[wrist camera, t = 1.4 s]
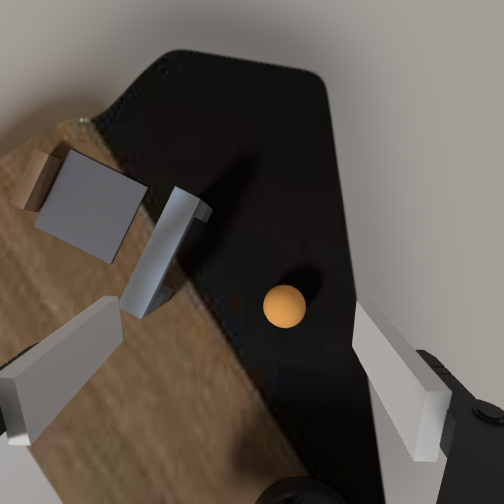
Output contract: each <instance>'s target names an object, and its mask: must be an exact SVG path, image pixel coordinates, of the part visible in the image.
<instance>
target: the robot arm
mask: <svg viewBox="0 0 504 504" xmlns="http://www.w3.org/2000/svg"><path fill="white" fill-rule="evenodd" d="M122 341H123V335H122V327H121V319H120V312H119V304H118V296H103V297H102V298H100V299H99V300H98V301H96V302H95V303H94V304H92V305H91V306H89V307H88V308H87V309H85V310H84V311H83V312H81V313H80V314H78V315H77V316H76V317H74V318H73V319H71V320H70V321H69V322H67V323H66V324H65V325H63V326H62V327H60V328H59V329H58V330H56V331H55V332H54V333H52V334H51V335H49V336H48V337H47V338H45V339H44V340H42V341H40V342H38V343H36V344H34V345H32V346H30V347H28V348H26V349H25V350H23V351H22V352H21V353H19V354H18V355H17V357H14V358H12V359H11V360H9V361H8V363H5V364H4V365H2V366H1V367H0V436H1V435H2V434H3V433H4V432H5V431H6V433H7V437H8V441H9V444H10V445H30V446H31V444H32V443H33V442H34V441H35V440H36V439H37V438H38V437H39V435H40V434H41V433H42V432H43V431H44V430H45V429H46V427H47V426H48V425H49V424H50V423H51V422H52V421H53V419H54V418H55V417H56V416H57V415H58V414H59V413H60V411H61V410H62V409H63V408H64V407H65V406H66V405H67V404H68V402H69V401H70V400H71V399H72V398H73V397H74V396H75V394H76V393H77V392H78V391H79V390H80V389H81V388H82V386H83V385H84V384H85V383H86V382H87V381H88V380H89V379H90V377H91V376H92V375H93V374H94V373H95V372H96V371H97V369H98V368H99V367H100V366H101V365H102V364H103V363H104V361H105V360H106V359H107V358H108V357H109V356H110V355H111V353H112V352H113V351H114V350H115V349H116V348H117V347H118V346H119V344H120V343H121V342H122ZM352 347H353V349H354V350H355V352H356V354H357V356H358V358H359V360H360V362H361V364H362V366H363V367H364V369H365V371H366V373H367V375H368V377H369V379H370V381H371V382H372V384H373V386H374V388H375V390H376V392H377V394H378V396H379V398H380V399H381V401H382V403H383V405H384V407H385V409H386V411H387V413H388V415H389V416H390V418H391V420H392V422H393V424H394V426H395V428H396V430H397V432H398V433H399V435H400V437H401V439H402V441H403V443H404V445H405V446H406V448H407V450H408V452H409V454H410V456H411V458H412V460H413V461H416V462H437V460H438V455H439V451H440V448H441V449H442V451H443V452H444V454H445V455H446V457H447V462H446V466H445V470H444V474H443V478H442V482H441V486H440V490H439V494H438V499H437V502H436V504H504V411H503V410H502V409H500V408H499V407H497V406H495V405H493V404H491V403H488V402H485V401H482V400H478V399H476V398H475V397H474V396H473V395H472V394H471V393H470V392H469V391H468V390H467V389H466V388H465V387H464V386H463V385H462V384H461V383H460V382H459V381H458V380H457V379H456V378H455V377H454V376H453V375H452V374H451V373H450V372H449V371H448V370H447V368H445V367H444V365H443V364H442V363H441V362H440V361H439V360H438V359H437V358H436V357H434V356H433V355H431V354H429V353H428V352H426V351H425V350H414V349H413V347H412V346H411V345H410V344H409V343H408V342H407V341H406V339H405V338H404V337H403V336H402V335H401V334H400V333H399V332H398V330H397V329H396V328H395V327H394V326H393V325H392V324H391V323H390V321H389V320H388V319H387V318H386V317H385V316H384V315H383V314H382V312H380V310H379V309H378V308H377V307H376V306H375V305H374V303H373V302H372V301H357V304H356V314H355V323H354V333H353V343H352ZM255 504H347V503H346V501H345V500H344V498H343V497H342V496H341V495H340V494H339V493H338V492H337V491H336V490H335V489H334V488H332V487H331V486H329V485H328V484H326V483H324V482H322V481H319V480H316V479H311V478H291V479H287V480H283V481H281V482H278V483H276V484H275V485H273V486H271V487H270V488H269V489H267V490H266V491H265V492H264V493H263V494H262V495H261V496H260V497H259V499H258V500H257V502H256V503H255Z"/></svg>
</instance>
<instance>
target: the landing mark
mask: <svg viewBox="0 0 504 504" xmlns="http://www.w3.org/2000/svg"><path fill="white" fill-rule="evenodd" d="M147 189H148V187H146V186H144V185H142V184H140V183H138V182H136V181H134V180H132V179H130V178H128V177H126V176H124V175H122V174H120V173H118V172H116V171H114V170H112V169H110V168H108V167H106V166H104V165H102V164H100V163H98V162H96V161H94V160H92V159H90V158H88V157H85V156H83V155H81V154H79V153H77V152H75V151H73V150H71V149H70V151H69V153H68V155H67V157H66V159H65V161H64V163H63V166H62V168H61V170H60V172H59V174H58V176H57V178H56V180H55V182H54V185H53V187H52V189H51V191H50V193H49V195H48V197H47V199H46V201H45V204H44V206H43V208H42V210H41V212H40V214H39V216H38V218H37V220H36V222H35V225H34V227H36V228H38V229H40V230H42V231H44V232H46V233H48V234H50V235H52V236H54V237H56V238H58V239H60V240H62V241H64V242H66V243H68V244H70V245H72V246H74V247H76V248H78V249H80V250H83V251H85V252H87V253H89V254H91V255H93V256H95V257H97V258H99V259H101V260H103V261H105V262H107V263H109V264H112V262H113V259H114V257H115V255H116V253H117V251H118V249H119V247H120V245H121V243H122V241H123V239H124V237H125V235H126V233H127V231H128V228H129V226H130V224H131V222H132V220H133V218H134V216H135V214H136V212H137V210H138V208H139V206H140V204H141V202H142V200H143V197H144V195H145V193H146V191H147Z"/></svg>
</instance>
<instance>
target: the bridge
mask: <svg viewBox="0 0 504 504" xmlns="http://www.w3.org/2000/svg"><path fill="white" fill-rule="evenodd" d="M212 211H213V210H212V209H211V208H210V207H209V206H208V205H207V204H206V203H204V202H203V201H202V200H201V199H199V198H197V197H195V196H193V195H191V194H189V193H187V192H185V191H183V190H181V189H179V188H177V187H175V188H174V190H173V192H172V194H171V196H170V198H169V200H168V202H167V204H166V206H165V208H164V211H163V213H162V215H161V217H160V219H159V221H158V223H157V225H156V227H155V229H154V231H153V233H152V235H151V237H150V239H149V241H148V243H147V245H146V248H145V250H144V252H143V254H142V256H141V258H140V260H139V262H138V264H137V266H136V268H135V270H134V272H133V274H132V276H131V278H130V280H129V282H128V285H127V287H126V289H125V291H124V293H123V295H122V297H121V299H120V301H119V303H118V304H119V308H120V309H122V310H124V311H126V312H128V313H130V314H132V315H134V316H136V317H138V318H140V319H143V318H144V317H146V316H147V315H149V314H150V313H152V312H153V311H155V310H156V309H158V308H159V307H161V306H162V305H164V304H165V303H167V302H168V300H169V298H170V296H171V294H172V292H173V290H174V289H172V288H170V287H168V286H166V285H164V284H162V282H163V280H164V278H165V276H166V274H167V272H168V270H169V268H170V266H171V264H172V262H173V260H174V258H175V256H176V254H177V251H178V249H179V247H180V245H181V243H182V241H183V239H184V237H185V235H186V233H187V231H188V229H189V227H190V225H191V223H192V221H193V219H194V217H196V218H198V219H200V220H202V221H204V222H206V223H207V221H208V219H209V217H210V215H211V213H212Z"/></svg>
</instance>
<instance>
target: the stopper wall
mask: <svg viewBox="0 0 504 504" xmlns="http://www.w3.org/2000/svg"><path fill="white" fill-rule="evenodd" d="M61 162H62V161H61V160H59V159H57V158H55V157H53V156H51V155H49V154H47V153H45V152H43V151H40V150H38V149H36V148H35V150H34V152H33V154H32V156H31V158H30V160H29V162H28V164H27V167H26V169H25V171H24V173H23V175H22V177H21V179H20V181H19V184H18V186H17V188H16V190H15V192H14V194H13V196H12V198H11V201H10V204H12V205H14V206H16V207H18V208H20V209H22V210H27V211H34V212H38V210H39V208H40V206H41V204H42V202H43V200H44V198H45V196H46V193H47V191H48V189H49V187H50V185H51V183H52V181H53V179H54V177H55V174H56V172H57V170H58V168H59V166H60V164H61Z"/></svg>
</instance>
